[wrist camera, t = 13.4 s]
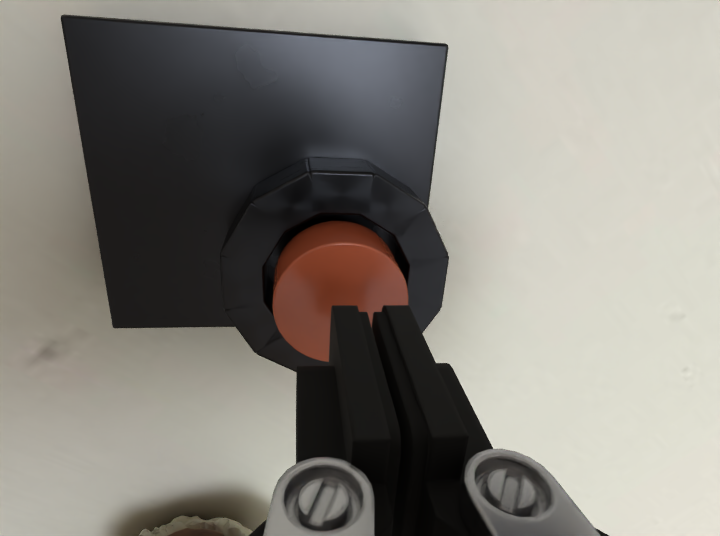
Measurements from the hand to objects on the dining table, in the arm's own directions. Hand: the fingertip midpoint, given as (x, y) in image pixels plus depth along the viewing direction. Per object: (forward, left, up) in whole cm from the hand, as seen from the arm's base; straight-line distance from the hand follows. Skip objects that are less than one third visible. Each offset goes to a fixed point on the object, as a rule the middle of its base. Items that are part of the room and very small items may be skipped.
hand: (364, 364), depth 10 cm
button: (0, 0, -4) cm, 4 cm away
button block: (-2, +2, -8) cm, 8 cm away
